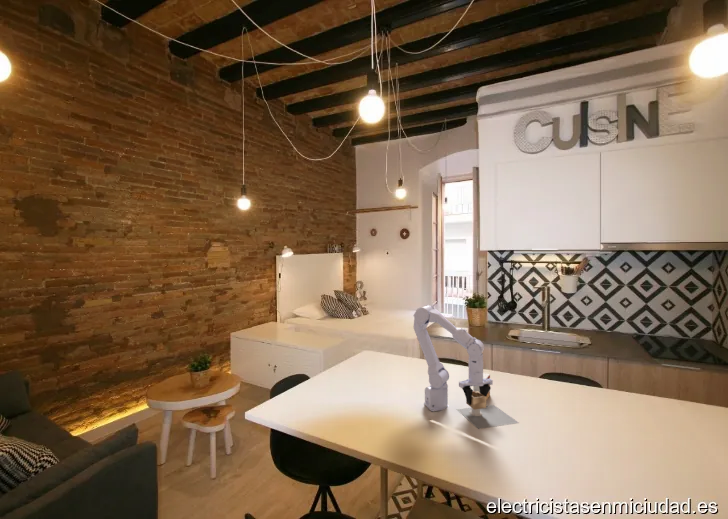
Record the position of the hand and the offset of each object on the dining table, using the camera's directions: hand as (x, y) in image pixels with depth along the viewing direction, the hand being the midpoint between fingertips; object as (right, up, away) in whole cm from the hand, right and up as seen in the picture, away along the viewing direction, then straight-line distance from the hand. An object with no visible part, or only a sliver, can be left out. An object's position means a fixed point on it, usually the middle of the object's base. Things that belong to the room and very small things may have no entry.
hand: (475, 403), depth 136 cm
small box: (+8, -5, +16) cm, 19 cm away
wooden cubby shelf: (0, -1, 0) cm, 1 cm away
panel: (+4, -5, -2) cm, 7 cm away
